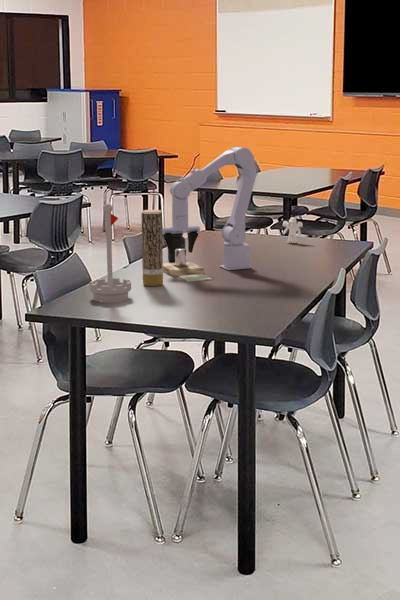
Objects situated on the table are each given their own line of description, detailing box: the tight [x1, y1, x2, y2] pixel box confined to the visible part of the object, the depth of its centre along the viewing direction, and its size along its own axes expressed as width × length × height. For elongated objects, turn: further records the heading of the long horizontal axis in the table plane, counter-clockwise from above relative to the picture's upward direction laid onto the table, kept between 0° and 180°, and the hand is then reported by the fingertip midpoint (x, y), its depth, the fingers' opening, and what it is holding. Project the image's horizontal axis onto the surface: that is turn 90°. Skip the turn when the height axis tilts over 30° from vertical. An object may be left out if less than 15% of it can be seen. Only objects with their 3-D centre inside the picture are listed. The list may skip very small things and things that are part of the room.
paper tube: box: [140, 209, 164, 287], centre depth 300 cm, size 7×7×25 cm
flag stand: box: [89, 203, 132, 303], centre depth 280 cm, size 13×13×30 cm
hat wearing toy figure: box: [282, 214, 303, 242], centre depth 383 cm, size 9×4×12 cm, turn 63°
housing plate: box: [163, 261, 205, 277], centre depth 325 cm, size 12×14×2 cm
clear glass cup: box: [174, 249, 187, 268], centre depth 324 cm, size 4×4×8 cm
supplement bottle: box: [167, 231, 187, 263], centre depth 344 cm, size 7×7×12 cm
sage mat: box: [178, 273, 213, 283], centre depth 312 cm, size 9×9×1 cm
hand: (180, 252), depth 323 cm, fingers open, 7 cm apart
